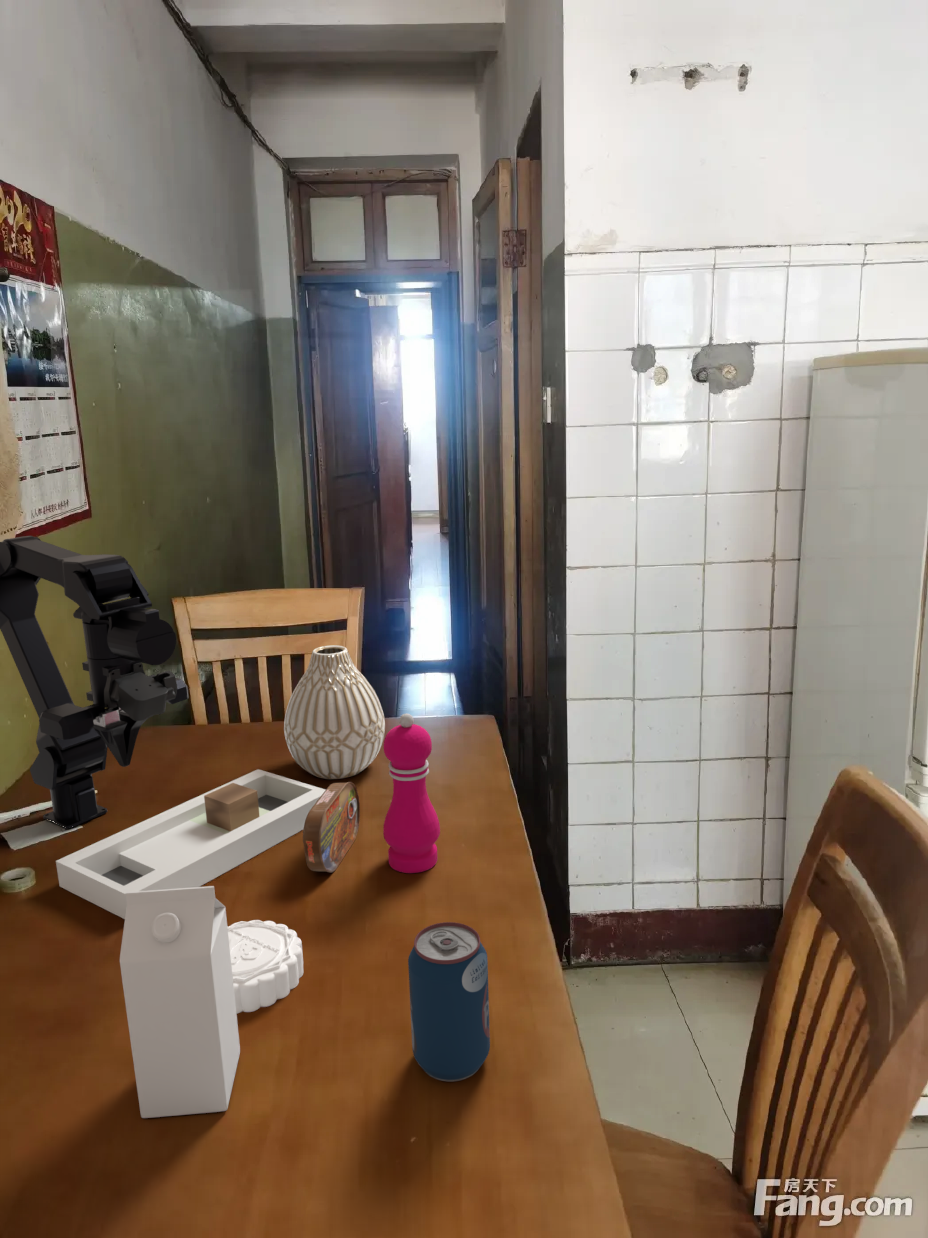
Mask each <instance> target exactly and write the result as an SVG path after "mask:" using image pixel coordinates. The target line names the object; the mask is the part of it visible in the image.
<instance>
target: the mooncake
mask: <svg viewBox="0 0 928 1238" xmlns="http://www.w3.org/2000/svg"><path fill="white" fill-rule="evenodd" d="M227 928H228V937H229V947H230V957H231V966H232V976H233V986H234V995H235V1005H236V1015H237V1014H239V1013H242V1012H244V1013H251V1012H255V1011H257V1010H258V1009H260V1008H266V1007H267V1008H268V1007H270V1006H272V1005H274V1004H275V1003H276V1002H277V1000H280V999H284V998H286V997H287V996H289V994H290V992H291V990H293V989H294V988H297V986H298V985H299V983H300V978H301V977H303V975H304V955H303V944H302V943H303V942H302V940H301V938H300V937H298V933H297V932H296V931H295V930H294V929H291V928H289V927H288V926H287V925H286V924H283V923H276V922H275V921H273V920H265V921H262V920H260V919H253V920H249V921H243V920H241V921H238V922H234V923H232V924H230V925H229V926H228V925H227Z"/></svg>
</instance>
